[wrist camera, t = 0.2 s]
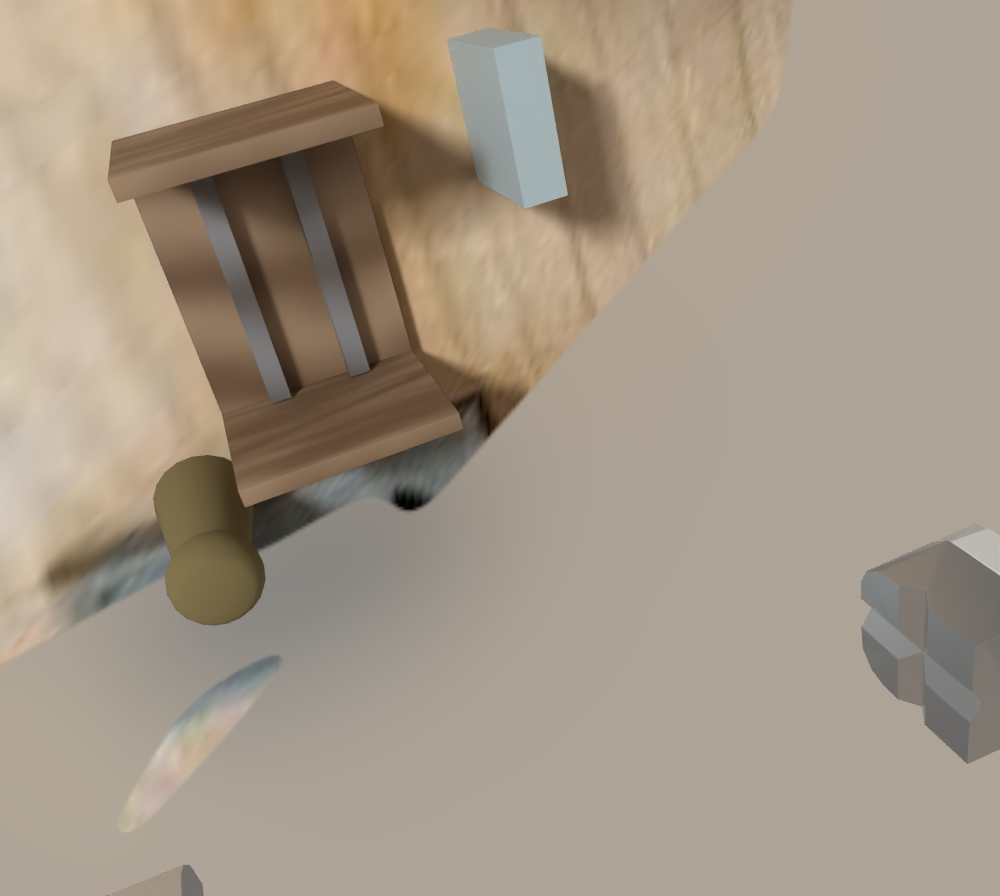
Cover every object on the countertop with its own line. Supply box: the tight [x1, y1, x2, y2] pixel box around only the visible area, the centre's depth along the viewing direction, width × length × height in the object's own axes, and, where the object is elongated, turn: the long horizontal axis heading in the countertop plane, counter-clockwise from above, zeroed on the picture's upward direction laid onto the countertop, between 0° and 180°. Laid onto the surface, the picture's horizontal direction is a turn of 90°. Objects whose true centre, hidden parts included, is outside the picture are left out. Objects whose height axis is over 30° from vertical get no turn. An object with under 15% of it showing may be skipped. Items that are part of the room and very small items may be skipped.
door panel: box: [447, 28, 568, 209], centre depth 51 cm, size 8×2×8 cm, turn 12°
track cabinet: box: [108, 81, 463, 507], centre depth 50 cm, size 17×12×11 cm
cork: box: [153, 455, 265, 625], centre depth 54 cm, size 6×6×11 cm
